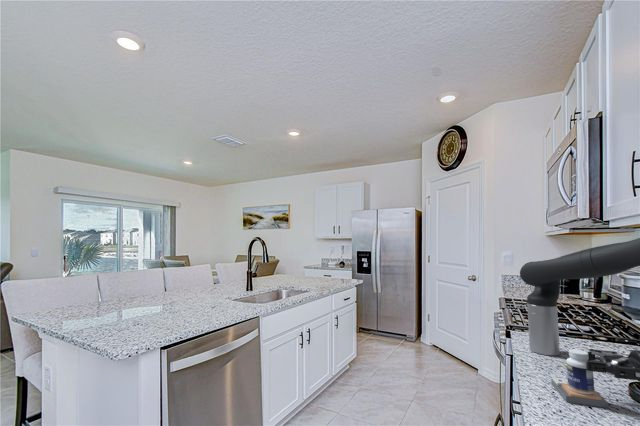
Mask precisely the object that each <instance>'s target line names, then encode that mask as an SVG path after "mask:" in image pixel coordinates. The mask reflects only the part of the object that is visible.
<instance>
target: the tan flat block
mask: <svg viewBox="0 0 640 426" xmlns="http://www.w3.org/2000/svg"><path fill="white" fill-rule="evenodd" d="M550 380H551V385H552V387H553V388H554V389H555V390H556V391H557V393H558V394H559V396H560V397H561V398H562V399H563V400H564V401H565V402H566V403H569V404H577V405H583V406H590V407H596V408H603V409H604V408H605V409H609V402H608V401H607V400H606V399H605V398H604V397H603V396H602V395H601V394H600V393H599V392H598V391H596V390H595V389H594V394H591V395H586V394H581V393H577V392H574V391H572V390H571V389H569V387H568V380H567V378H564V379H563V378H561V377H560V378H559V377H552V378H550Z"/></svg>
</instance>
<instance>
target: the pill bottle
mask: <svg viewBox="0 0 640 426" xmlns="http://www.w3.org/2000/svg"><path fill="white" fill-rule="evenodd" d="M587 352H588V351H587ZM587 352H585V350H581V349H576V348H575V349H574V348H573V349H568V355H569V357H568V358H567V359H566V363H565V364H566V376H567V378H566V379H567V380H568V387H569V389H571V390H572V391H574V392H577V393H581V394H586V395H591V394H594V390H595V378H594V371H589V370H587V368H586V362H587V361H588V359H589V356H588V353H587Z"/></svg>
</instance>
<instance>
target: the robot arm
mask: <svg viewBox="0 0 640 426" xmlns="http://www.w3.org/2000/svg"><path fill="white" fill-rule="evenodd" d="M637 267H640V237H639V238H636V239H635V238H634V239H631V240H629V241H628V240H627V241H623V242H617V243H615V242H614V243H611V244H609V243H608V244H605V245H600V246H595V247H589V248H586V249H582V250H579V251H575V252H572V253H568V254H564V255H562V256H558V257H555V258H552V259H547V260H538V261H529V262H526V263H524V264H523V265H522V266H521V268H520V271H519V275H520V276H519V278H520V279H521V280H522V282H524V283H525V284H527V285H528V286H531V287H534V289H533V291H532V292H531V293H530V294H528V295H527V297H526V302H527V303H526V304H527V318H528V319H527V320H528V321H527V323H528V339H529V340H528V341H529V350H530V352H533V353H536V354H540V355H544V356H554V357H555V356H559V355H561V353H560V352H561V351H560V335H559V334H560V333H559V317H558V300H559V297H560V280H561V281H562V280H581V279H584V280H585V279H596V278H602V277H608V276H613V275H617V274H621V273H623V272H626V271H629V270H631V269H635V268H637ZM584 351H585V350H584ZM585 352H587V353H588V356H589V359H588V361H587V362H586V368H587V370H589V371H593V373H602V374H603V373H605V374H607V375H609V376H613V377H614V378H616V379H622V380H631V381H632V380H633V381H637V382H639V383H640V350H639V349H632V350H631V351H630V352H629V354H628V355H627V356H624V354H619V353H618V352H617V351H610V350H602V349H593V348H589V349H588V351H587V350H586V351H585Z"/></svg>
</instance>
